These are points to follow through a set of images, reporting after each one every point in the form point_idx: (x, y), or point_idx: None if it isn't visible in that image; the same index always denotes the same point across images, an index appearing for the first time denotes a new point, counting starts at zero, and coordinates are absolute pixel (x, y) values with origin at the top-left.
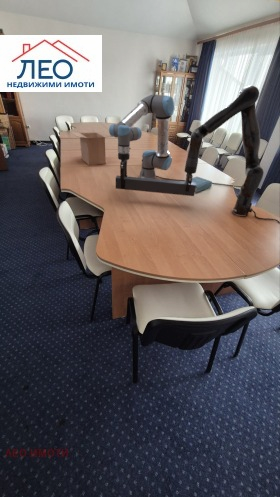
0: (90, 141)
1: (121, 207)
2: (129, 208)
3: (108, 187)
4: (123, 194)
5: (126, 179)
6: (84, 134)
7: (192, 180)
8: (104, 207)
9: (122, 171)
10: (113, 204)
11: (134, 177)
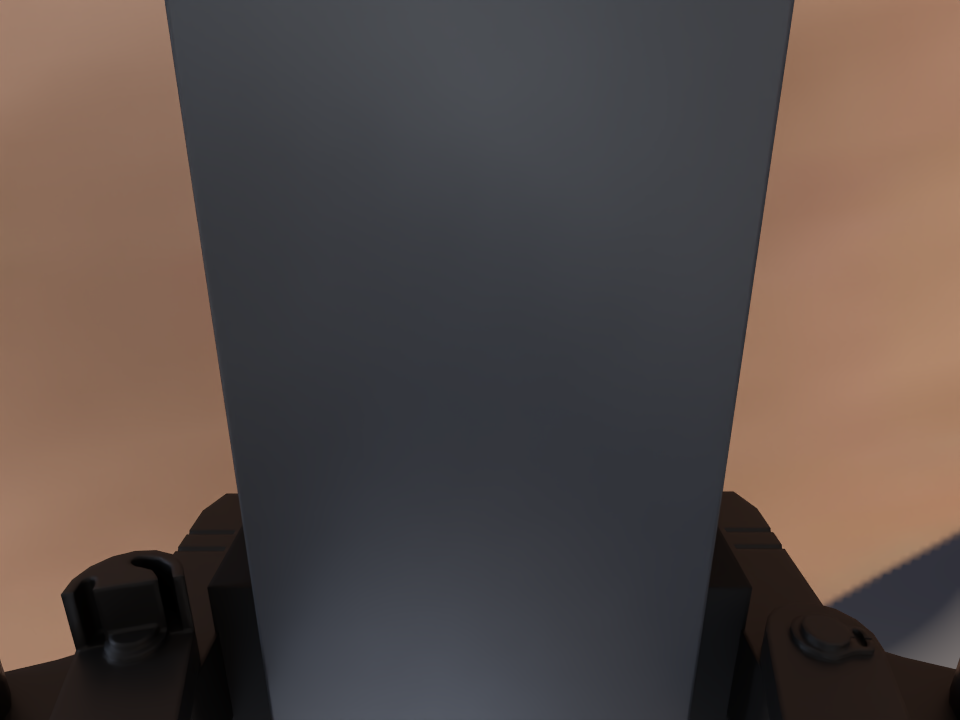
0: None
1: (856, 286)
2: (899, 111)
3: (8, 659)
4: (214, 351)
5: (701, 520)
6: None
7: None
8: (868, 560)
9: None
10: (734, 449)
11: (263, 18)
